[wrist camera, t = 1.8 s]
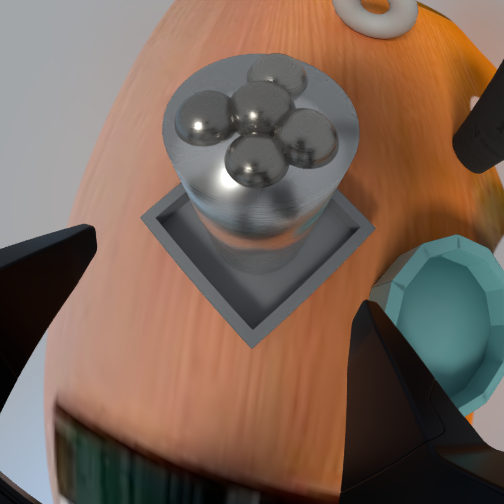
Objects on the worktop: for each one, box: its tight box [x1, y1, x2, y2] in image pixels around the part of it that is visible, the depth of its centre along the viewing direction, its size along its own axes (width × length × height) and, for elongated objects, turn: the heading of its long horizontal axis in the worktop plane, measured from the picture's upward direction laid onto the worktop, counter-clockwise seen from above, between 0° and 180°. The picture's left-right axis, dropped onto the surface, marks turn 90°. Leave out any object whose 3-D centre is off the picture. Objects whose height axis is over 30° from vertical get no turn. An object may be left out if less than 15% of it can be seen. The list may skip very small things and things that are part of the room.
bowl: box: [369, 234, 504, 417], centre depth 18 cm, size 13×13×4 cm
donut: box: [332, 0, 418, 39], centre depth 22 cm, size 10×4×10 cm, turn 72°
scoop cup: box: [162, 53, 360, 275], centre depth 14 cm, size 6×6×13 cm
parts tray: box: [140, 182, 376, 349], centre depth 20 cm, size 11×11×2 cm
